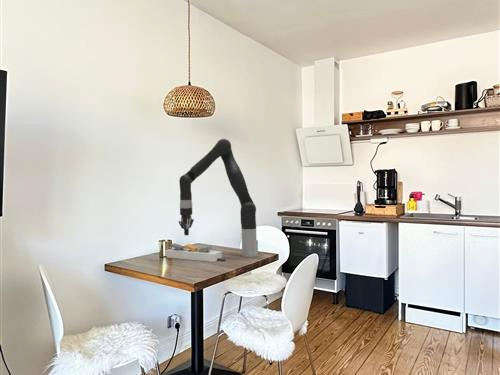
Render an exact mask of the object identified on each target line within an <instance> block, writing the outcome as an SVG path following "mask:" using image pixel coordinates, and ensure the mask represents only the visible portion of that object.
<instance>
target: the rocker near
mask: <svg viewBox="0 0 500 375" xmlns="http://www.w3.org/2000/svg"><path fill="white" fill-rule="evenodd" d="M212 249H213V245H210V246H205V247H201V248H198V250H199V252H201V251H205V250H212Z"/></svg>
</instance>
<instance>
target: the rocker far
mask: <svg viewBox="0 0 500 375" xmlns="http://www.w3.org/2000/svg"><path fill="white" fill-rule="evenodd" d="M184 246H185V245H181V244H178V243H175V242H174V243H171V244H170V248H171V247H172V248H175V249H178V250H182V249H183V248H185V247H184Z"/></svg>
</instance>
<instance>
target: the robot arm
mask: <svg viewBox="0 0 500 375" xmlns="http://www.w3.org/2000/svg"><path fill="white" fill-rule="evenodd" d="M232 150H233V149H232V144H231V141H229V139H226V138H221V139H219V140H218V141H217V142H216V144H215V145H214V146H213V147H212V148H211V149H210V150H209V151H208V153H207V154H206V155H204V156H203V157H202V158H201V159H199V160H198V161H197V162H196V163H195V164H193V166H192V167H191V168H190V170H188V171H187V172H186V173H184V174H182V175H180V178H179V191H180V194H179V199H180V200H179V215H180V216H181V217H180V220H179V221H178V224H179V226H180V228H181V229H183V233H184V234H183V235H184V236H189V235H190V234H189V233H190V232H189V231H190V228H192V226H193V223H194V221H195V220H194V218H192V215H193V201H192V200H193V199H192V197H193V196H192V183H193V182H194V181H195V180H197V179H198V177H200V176H201V175H203V173H205V172H206V170H208V169H209V168H210V166H211V165H212V164H213V163H215V161H217V159H219V158H221V160H222V162H223V164H224V168H225V172H226V176H227V178H228V181H229V183H230V186H231V188H232V190H233V191H234V193H235V194H236V197H237V198H238V200H239V204H240V225H241V256H242V257H243V258H256V257H258V256H259V241H258V239H257V220H256V218H257V217H256V216H257V215H256V214H257V207H256V204H255V203H254V201H253V198H252V197H251V195H250V193H249V189H248V185H247V182H246V180H245V177H244V175H243V172H242V171H241V167H240V166H239V165H238V163H237V161H236V160H235V157H234V153H233V151H232Z"/></svg>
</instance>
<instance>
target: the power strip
mask: <svg viewBox="0 0 500 375" xmlns="http://www.w3.org/2000/svg"><path fill="white" fill-rule="evenodd" d="M170 248H171V247H170ZM165 253H166V256H167V257H166V258H167V259H168V258H169V259H180V260H190V261H191V260H192V261H199V262H200V261H202V262H210V263H215V262H217V261H223V262H225V261H226V258H222V256H223V255H222V250H219V251H218V250H211V249H209V250H205V251H201V252H199V249H198V250H197V251H192V250H189V249H187V248H185V247H184V248H183V249H182V250H178V249H175V248H173V247H172V248H171V249H168V250H165Z"/></svg>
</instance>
